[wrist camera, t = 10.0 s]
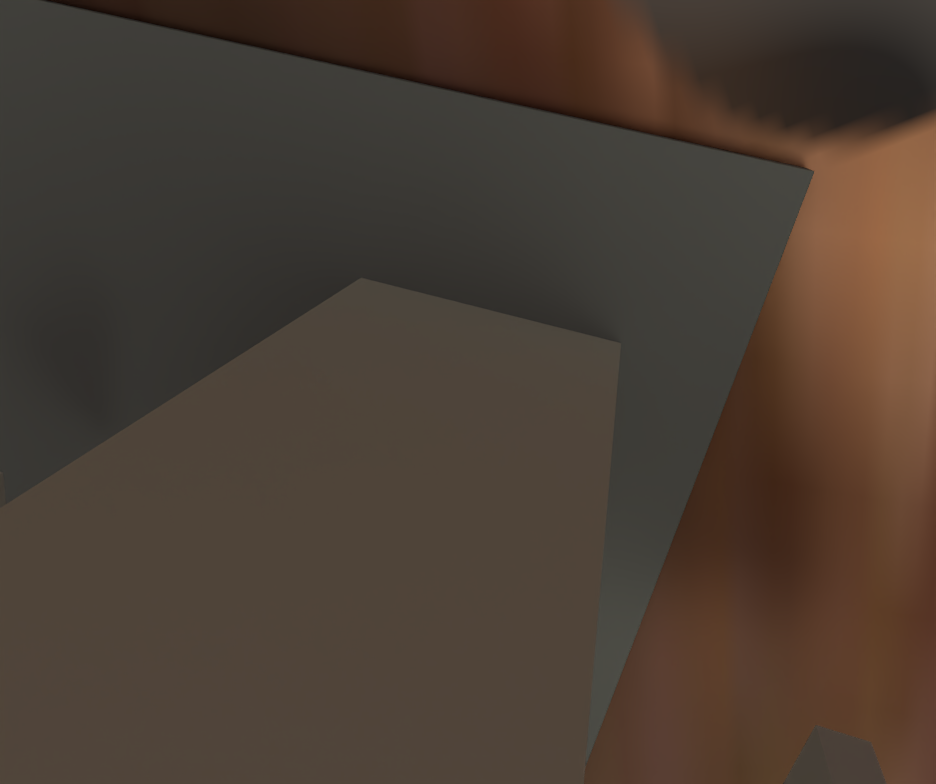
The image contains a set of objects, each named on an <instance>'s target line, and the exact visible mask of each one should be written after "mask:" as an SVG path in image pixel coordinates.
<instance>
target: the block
mask: <svg viewBox="0 0 936 784" xmlns="http://www.w3.org/2000/svg"><path fill="white" fill-rule="evenodd" d="M620 350H621V343H619V342H615V341H611V340H607V339H603V338H599V337H595V336H591V335H587V334H583V333H579V332H575V331H571V330H567V329H563V328H559V327H555V326H551V325H547V324H543V323H539V322H535V321H531V320H527V319H523V318H519V317H515V316H511V315H507V314H503V313H499V312H495V311H492V310H488V309H484V308H480V307H476V306H472V305H468V304H464V303H460V302H456V301H452V300H448V299H444V298H440V297H436V296H432V295H428V294H424V293H420V292H416V291H412V290H408V289H404V288H400V287H396V286H392V285H388V284H384V283H380V282H376V281H372V280H368V279H365V278H360V279H358V280H357V281H355V282H354V283H352V284H350V285H349V286H347V287H346V288H344V289H343V290H341V291H340V292H338V293H336V294H335V295H333V296H332V297H330V298H329V299H327V300H325V301H324V302H322V303H321V304H319V305H318V306H316V307H314V308H313V309H311V310H310V311H308V312H307V313H305V314H303V315H302V316H300V317H299V318H297V319H296V320H294V321H292V322H291V323H289V324H288V325H286V326H285V327H283V328H282V329H280V330H278V331H277V332H275V333H274V334H272V335H271V336H269V337H267V338H266V339H264V340H263V341H261V342H260V343H258V344H256V345H255V346H253V347H252V348H250V349H249V350H247V351H245V352H244V353H242V354H241V355H239V356H238V357H236V358H235V359H233V360H231V361H230V362H228V363H227V364H225V365H224V366H222V367H220V368H219V369H217V370H216V371H214V372H213V373H211V374H209V375H208V376H206V377H205V378H203V379H202V380H200V381H198V382H197V383H195V384H194V385H192V386H191V387H189V388H188V389H186V390H184V391H183V392H181V393H180V394H178V395H177V396H175V397H173V398H172V399H170V400H169V401H167V402H166V403H164V404H162V405H161V406H159V407H158V408H156V409H155V410H153V411H151V412H150V413H148V414H147V415H145V416H144V417H142V418H140V419H139V420H137V421H136V422H134V423H133V424H131V425H130V426H128V427H126V428H125V429H123V430H122V431H120V432H119V433H117V434H115V435H114V436H112V437H111V438H109V439H108V440H106V441H104V442H103V443H101V444H100V445H98V446H97V447H95V448H93V449H92V450H90V451H89V452H87V453H86V454H84V455H83V456H81V457H79V458H78V459H76V460H75V461H73V462H72V463H70V464H68V465H67V466H65V467H64V468H62V469H61V470H59V471H57V472H56V473H54V474H53V475H51V476H50V477H48V478H46V479H45V480H43V481H42V482H40V483H39V484H37V485H36V486H34V487H32V488H31V489H29V490H28V491H26V492H25V493H23V494H21V495H20V496H18V497H17V498H15V499H14V500H12V501H10V502H9V503H7V504H6V505H4V506H3V507H1V508H0V784H584V773H585V761H586V749H587V738H588V726H589V714H590V702H591V691H592V679H593V667H594V655H595V644H596V632H597V620H598V608H599V597H600V585H601V573H602V561H603V550H604V538H605V526H606V514H607V502H608V491H609V479H610V467H611V455H612V444H613V432H614V420H615V408H616V397H617V385H618V373H619V361H620Z"/></svg>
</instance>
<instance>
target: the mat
mask: <svg viewBox="0 0 936 784" xmlns="http://www.w3.org/2000/svg"><path fill="white" fill-rule="evenodd" d="M813 174H814V171H812V170H809V169H807V168H803V167H799V166H794V165H790V164H785V163H781V162H776V161H772V160H767V159H762V158H758V157H753V156H749V155H744V154H740V153H735V152H731V151H726V150H722V149H717V148H713V147H708V146H704V145H699V144H694V143H690V142H685V141H681V140H676V139H672V138H667V137H663V136H658V135H654V134H649V133H645V132H640V131H636V130H631V129H627V128H622V127H617V126H613V125H608V124H604V123H599V122H595V121H590V120H586V119H581V118H577V117H572V116H568V115H563V114H559V113H554V112H549V111H545V110H540V109H536V108H531V107H527V106H522V105H518V104H513V103H509V102H504V101H500V100H495V99H491V98H486V97H482V96H477V95H472V94H468V93H463V92H459V91H454V90H450V89H445V88H441V87H436V86H432V85H427V84H423V83H418V82H414V81H409V80H404V79H400V78H395V77H391V76H386V75H382V74H377V73H373V72H368V71H364V70H359V69H355V68H350V67H346V66H341V65H337V64H332V63H327V62H323V61H318V60H314V59H309V58H305V57H300V56H296V55H291V54H287V53H282V52H278V51H273V50H269V49H264V48H260V47H255V46H250V45H246V44H241V43H237V42H232V41H228V40H223V39H219V38H214V37H210V36H205V35H201V34H196V33H192V32H187V31H182V30H178V29H173V28H169V27H164V26H160V25H155V24H151V23H146V22H142V21H137V20H133V19H128V18H124V17H119V16H115V15H110V14H105V13H101V12H96V11H92V10H87V9H83V8H78V7H74V6H69V5H65V4H60V3H56V2H51V1H47V0H0V472H3V477H4V488H5V500H6V504H7V503H9V502H10V501H12V500H14V499H15V498H17V497H18V496H20V495H21V494H23V493H25V492H26V491H28V490H29V489H31V488H32V487H34V486H36V485H37V484H39V483H40V482H42V481H43V480H45V479H46V478H48V477H50V476H51V475H53V474H54V473H56V472H57V471H59V470H61V469H62V468H64V467H65V466H67V465H68V464H70V463H72V462H73V461H75V460H76V459H78V458H79V457H81V456H83V455H84V454H86V453H87V452H89V451H90V450H92V449H93V448H95V447H97V446H98V445H100V444H101V443H103V442H104V441H106V440H108V439H109V438H111V437H112V436H114V435H115V434H117V433H119V432H120V431H122V430H123V429H125V428H126V427H128V426H130V425H131V424H133V423H134V422H136V421H137V420H139V419H140V418H142V417H144V416H145V415H147V414H148V413H150V412H151V411H153V410H155V409H156V408H158V407H159V406H161V405H162V404H164V403H166V402H167V401H169V400H170V399H172V398H173V397H175V396H177V395H178V394H180V393H181V392H183V391H184V390H186V389H188V388H189V387H191V386H192V385H194V384H195V383H197V382H198V381H200V380H202V379H203V378H205V377H206V376H208V375H209V374H211V373H213V372H214V371H216V370H217V369H219V368H220V367H222V366H224V365H225V364H227V363H228V362H230V361H231V360H233V359H235V358H236V357H238V356H239V355H241V354H242V353H244V352H245V351H247V350H249V349H250V348H252V347H253V346H255V345H256V344H258V343H260V342H261V341H263V340H264V339H266V338H267V337H269V336H271V335H272V334H274V333H275V332H277V331H278V330H280V329H282V328H283V327H285V326H286V325H288V324H289V323H291V322H292V321H294V320H296V319H297V318H299V317H300V316H302V315H303V314H305V313H307V312H308V311H310V310H311V309H313V308H314V307H316V306H318V305H319V304H321V303H322V302H324V301H325V300H327V299H329V298H330V297H332V296H333V295H335V294H336V293H338V292H340V291H341V290H343V289H344V288H346V287H347V286H349V285H350V284H352V283H354V282H355V281H357V280H358V279H360V278H365V279H368V280H372V281H376V282H380V283H384V284H388V285H392V286H396V287H400V288H404V289H408V290H412V291H416V292H420V293H424V294H428V295H432V296H436V297H440V298H444V299H448V300H452V301H456V302H460V303H464V304H468V305H472V306H476V307H480V308H484V309H488V310H492V311H495V312H499V313H503V314H507V315H511V316H515V317H519V318H523V319H527V320H531V321H535V322H539V323H543V324H547V325H551V326H555V327H559V328H563V329H567V330H571V331H575V332H579V333H583V334H587V335H591V336H595V337H599V338H603V339H607V340H611V341H615V342H619V343H621V350H620V361H619V373H618V385H617V397H616V408H615V420H614V432H613V444H612V455H611V467H610V479H609V491H608V502H607V514H606V526H605V538H604V550H603V561H602V573H601V585H600V597H599V608H598V620H597V632H596V644H595V655H594V667H593V679H592V691H591V702H590V714H589V726H588V738H587V749H586V761H585V766H586V764H587V761H588V758H589V756H590V753H591V751H592V748H593V745H594V743H595V740H596V738H597V735H598V732H599V730H600V727H601V725H602V722H603V719H604V717H605V714H606V712H607V709H608V706H609V704H610V701H611V699H612V696H613V693H614V691H615V688H616V686H617V683H618V680H619V678H620V675H621V673H622V670H623V667H624V665H625V662H626V660H627V657H628V654H629V652H630V649H631V647H632V644H633V641H634V639H635V636H636V634H637V631H638V628H639V626H640V623H641V621H642V618H643V615H644V613H645V610H646V608H647V605H648V602H649V600H650V597H651V595H652V592H653V590H654V587H655V584H656V582H657V579H658V577H659V574H660V571H661V569H662V566H663V564H664V561H665V558H666V556H667V553H668V551H669V548H670V545H671V543H672V540H673V538H674V535H675V532H676V530H677V527H678V525H679V522H680V519H681V517H682V514H683V512H684V509H685V506H686V504H687V501H688V499H689V496H690V493H691V491H692V488H693V486H694V483H695V480H696V478H697V475H698V473H699V470H700V467H701V465H702V462H703V460H704V457H705V454H706V452H707V449H708V447H709V444H710V441H711V439H712V436H713V434H714V431H715V428H716V426H717V423H718V421H719V418H720V415H721V413H722V410H723V408H724V405H725V402H726V400H727V397H728V395H729V392H730V389H731V387H732V384H733V382H734V379H735V376H736V374H737V371H738V369H739V366H740V363H741V361H742V358H743V356H744V353H745V350H746V348H747V345H748V343H749V340H750V337H751V335H752V332H753V330H754V327H755V324H756V322H757V319H758V317H759V314H760V311H761V309H762V306H763V304H764V301H765V298H766V296H767V293H768V291H769V288H770V285H771V283H772V280H773V278H774V275H775V272H776V270H777V267H778V265H779V262H780V259H781V257H782V254H783V252H784V249H785V246H786V244H787V241H788V239H789V236H790V233H791V231H792V228H793V226H794V223H795V220H796V218H797V215H798V213H799V210H800V207H801V205H802V202H803V200H804V197H805V194H806V192H807V189H808V187H809V184H810V181H811V179H812V176H813Z"/></svg>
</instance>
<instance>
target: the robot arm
mask: <svg viewBox="0 0 936 784" xmlns="http://www.w3.org/2000/svg"><path fill="white" fill-rule="evenodd" d="M4 505H6V500H5V488H4V477H3V472H0V508H1V507H3V506H4ZM783 784H886V781H885V779H884V776H883V773H882V771H881V768H880V765H879V763H878V760H877V757H876V754H875V752H874V749H873V746H872V744H871V742H869V741H865V740H862V739H859V738H856V737H853V736H849V735H846V734H843V733H840V732H836V731H833V730H830V729H827V728H824V727H820V726H817V725H816V726H815V727H814V729H813V731H812V733H811V735H810V736H809V738H808V740H807V742H806V744H805V745H804V747H803V749H802V751H801V753H800V754H799V756H798V758H797V760H796V762H795V763H794V765H793V767H792V769H791V771H790V772H789V774H788V776H787V778H786V780H785V781H784V783H783Z"/></svg>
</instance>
